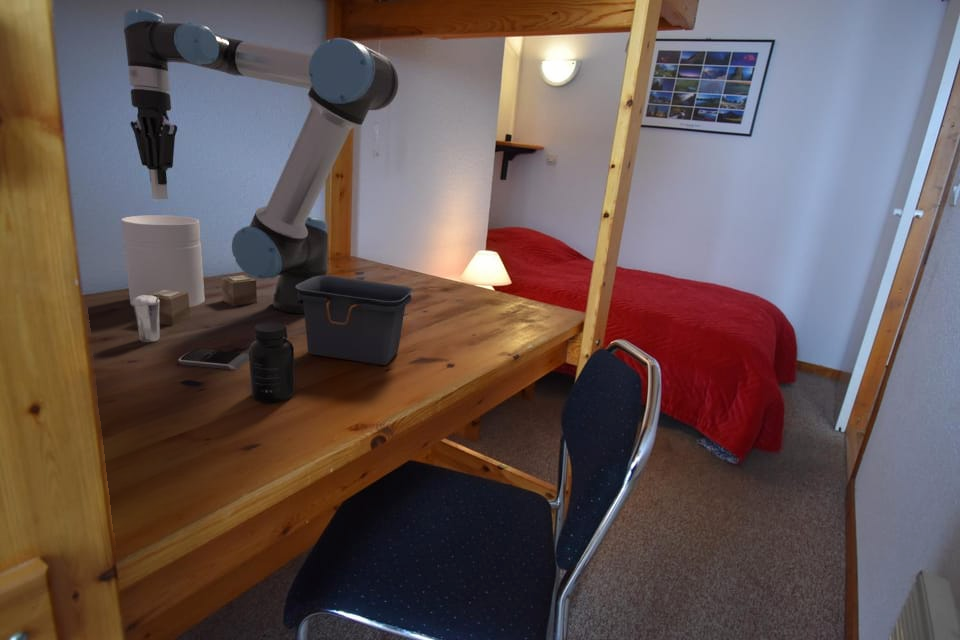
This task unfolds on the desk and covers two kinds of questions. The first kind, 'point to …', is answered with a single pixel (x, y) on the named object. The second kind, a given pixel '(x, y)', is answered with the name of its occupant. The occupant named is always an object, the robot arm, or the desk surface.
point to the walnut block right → (239, 290)
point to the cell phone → (214, 359)
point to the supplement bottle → (271, 364)
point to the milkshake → (147, 317)
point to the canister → (163, 256)
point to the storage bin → (353, 318)
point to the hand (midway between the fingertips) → (160, 198)
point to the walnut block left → (172, 306)
